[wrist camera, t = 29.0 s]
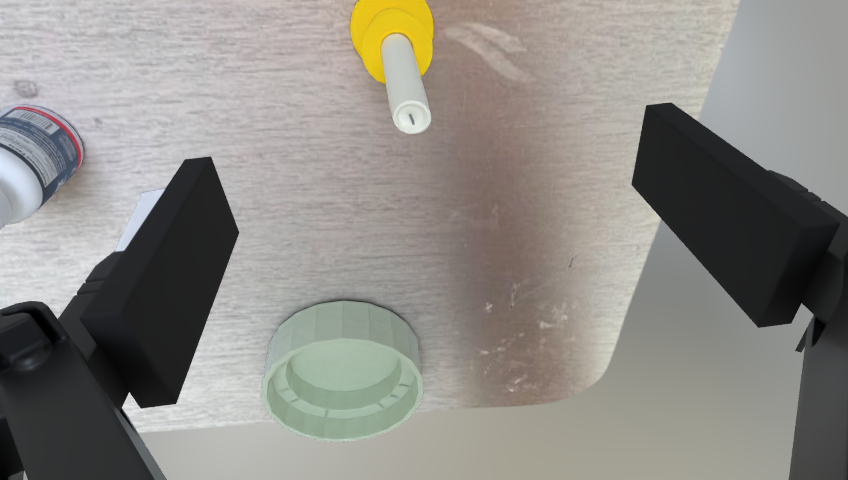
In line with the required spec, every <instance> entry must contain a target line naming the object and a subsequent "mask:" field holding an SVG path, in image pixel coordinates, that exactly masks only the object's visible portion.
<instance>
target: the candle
mask: <svg viewBox="0 0 848 480" xmlns="http://www.w3.org/2000/svg"><path fill="white" fill-rule="evenodd" d="M350 32H351V39H352V42H353V44H354V47H355V49H356V51H357V52H358V54H359V55H360V57H361V58H362V59H363V62H364V65H365V67H366V69H367V70H368V72H369V73H370V75H371V76H373V77H374V78H375V79H376V80H377V81H379V82H381V83H383V84H385V85H386V88H387V94H388V101H389V107H390V110H391V114H392V118H393V121H394V123H395V125H396V126H397V128H398V129H400V130H401V131H403V132H405V133H408V134H417V133H421V132H423V131H424V130H425V129H426V128H427V127H428V126H429V124H430V121H431V114H430V110H429V104H428V100H427V96H426V93H425V90H424V86H423V83H422V79H421V76H422V75H423V74H424V73H425V72H426V70H427V69H428V67H429V65H430V62H431V58H432V39H433V35H434V22H433V18H432V14H431V11H430V9H429V7H428V5H427V4H426V2H425V0H358V1H357V3H356V5H355V7H354V9H353V12H352V15H351V22H350Z"/></svg>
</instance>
